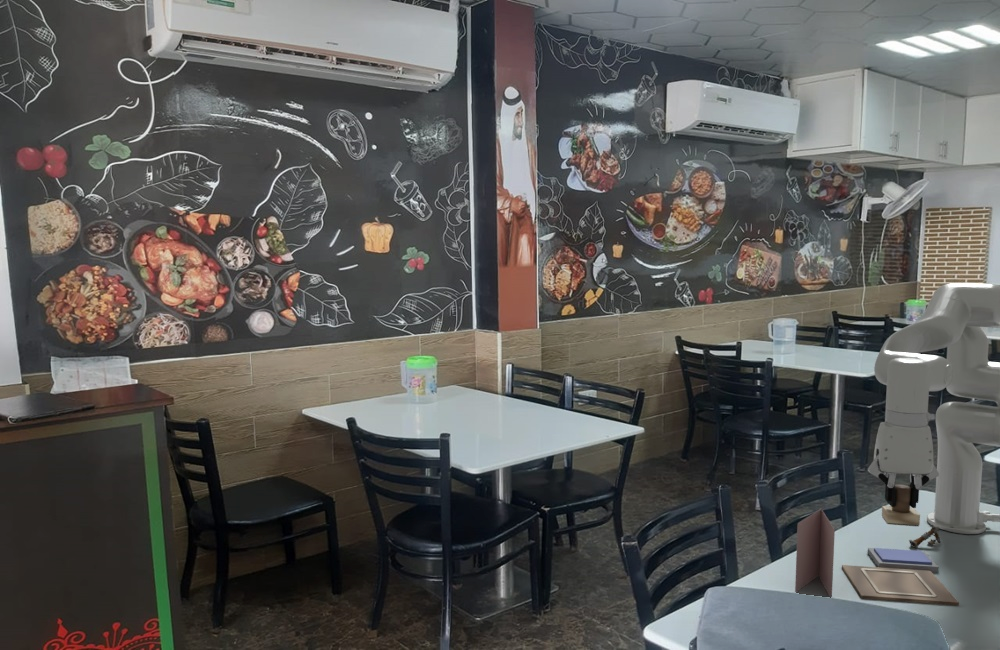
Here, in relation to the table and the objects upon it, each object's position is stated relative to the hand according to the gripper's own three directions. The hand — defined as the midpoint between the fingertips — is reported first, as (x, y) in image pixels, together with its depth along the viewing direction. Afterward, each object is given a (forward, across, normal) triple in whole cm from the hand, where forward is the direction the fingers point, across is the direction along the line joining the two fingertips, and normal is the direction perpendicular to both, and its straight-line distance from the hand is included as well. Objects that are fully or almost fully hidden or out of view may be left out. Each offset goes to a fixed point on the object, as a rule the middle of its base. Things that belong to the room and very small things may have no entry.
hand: (901, 504), depth 148 cm
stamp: (+4, 0, 0) cm, 4 cm away
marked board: (+18, 0, 0) cm, 18 cm away
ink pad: (+18, -5, -12) cm, 22 cm away
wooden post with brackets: (+18, -14, -22) cm, 32 cm away
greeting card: (+18, +16, +4) cm, 24 cm away
